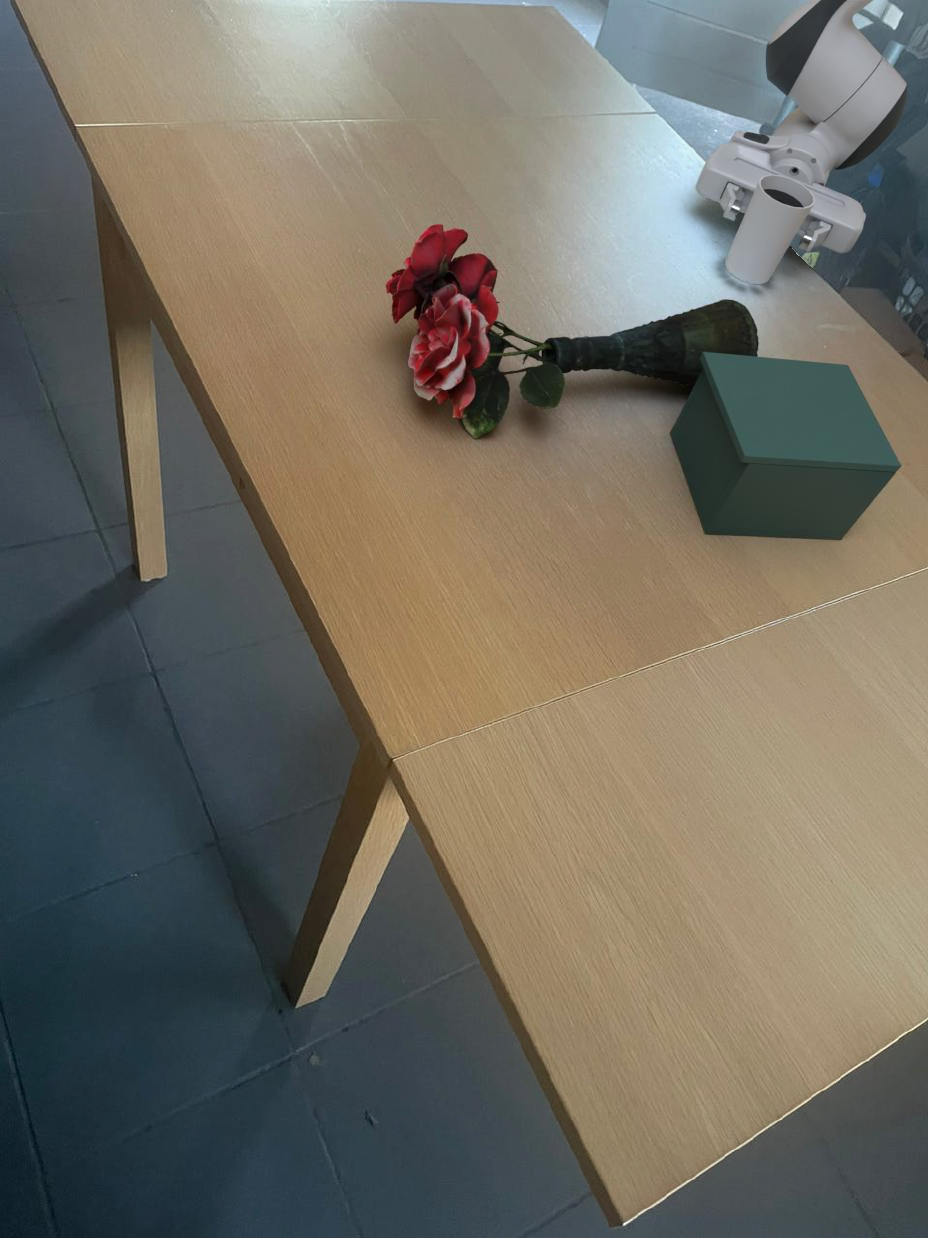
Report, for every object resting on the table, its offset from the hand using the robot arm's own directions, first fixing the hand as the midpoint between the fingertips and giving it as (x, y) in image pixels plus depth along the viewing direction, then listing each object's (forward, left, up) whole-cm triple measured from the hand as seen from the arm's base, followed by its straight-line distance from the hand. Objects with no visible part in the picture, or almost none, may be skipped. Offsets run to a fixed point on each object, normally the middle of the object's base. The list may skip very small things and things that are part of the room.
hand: (768, 229), depth 106 cm
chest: (+11, +36, -5) cm, 38 cm away
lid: (+11, +36, +4) cm, 38 cm away
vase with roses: (+29, +23, -6) cm, 37 cm away
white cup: (0, 0, -6) cm, 6 cm away
